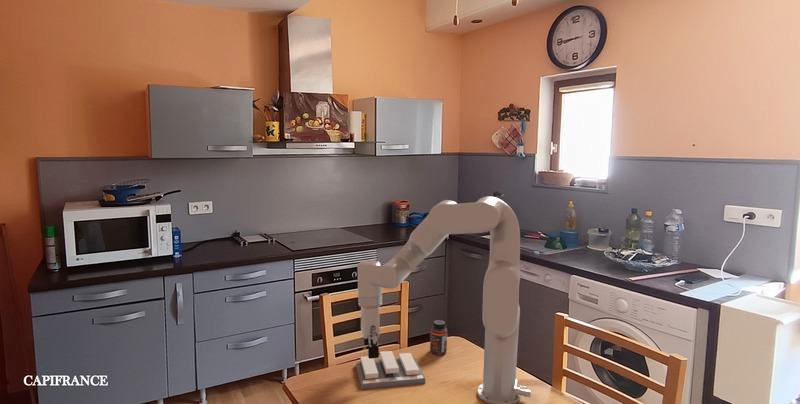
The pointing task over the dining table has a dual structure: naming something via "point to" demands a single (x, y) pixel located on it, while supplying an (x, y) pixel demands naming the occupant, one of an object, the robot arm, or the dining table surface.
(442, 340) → the supplement bottle
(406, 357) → the switch
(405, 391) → the dining table surface
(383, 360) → the middle switch
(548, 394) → the dining table surface
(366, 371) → the switch
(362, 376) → the switch board
